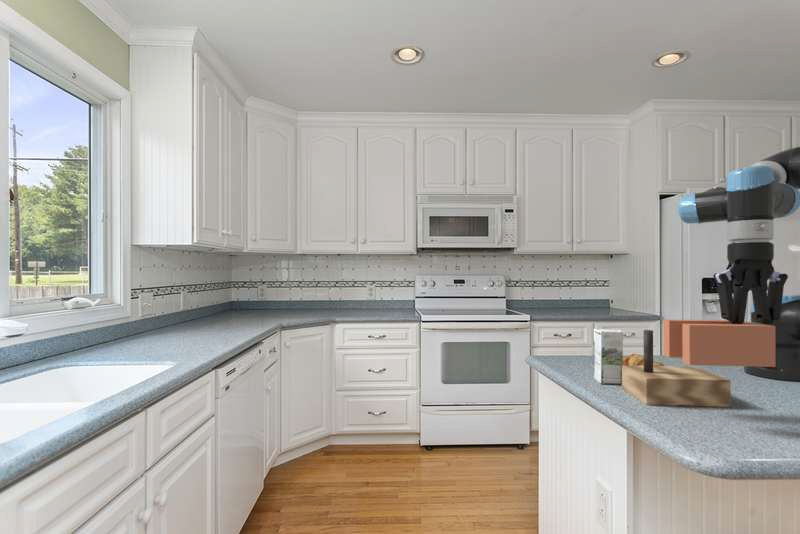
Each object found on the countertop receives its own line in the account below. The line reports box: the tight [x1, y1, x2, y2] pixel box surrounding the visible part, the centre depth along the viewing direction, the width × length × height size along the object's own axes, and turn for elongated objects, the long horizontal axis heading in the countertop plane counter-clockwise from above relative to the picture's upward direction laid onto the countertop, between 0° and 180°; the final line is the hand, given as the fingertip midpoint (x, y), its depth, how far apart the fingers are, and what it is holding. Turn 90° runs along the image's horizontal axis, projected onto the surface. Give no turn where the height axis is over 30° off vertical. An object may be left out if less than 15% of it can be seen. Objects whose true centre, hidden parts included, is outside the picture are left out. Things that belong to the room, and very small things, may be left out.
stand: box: [621, 329, 732, 408], centre depth 103 cm, size 18×13×16 cm
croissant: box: [623, 353, 665, 366], centre depth 121 cm, size 21×10×8 cm, turn 35°
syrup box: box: [593, 327, 624, 385], centre depth 116 cm, size 6×6×14 cm
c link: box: [662, 318, 776, 367], centre depth 90 cm, size 16×10×8 cm, turn 85°
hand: (750, 354), depth 89 cm, fingers closed on c link, 2 cm apart
